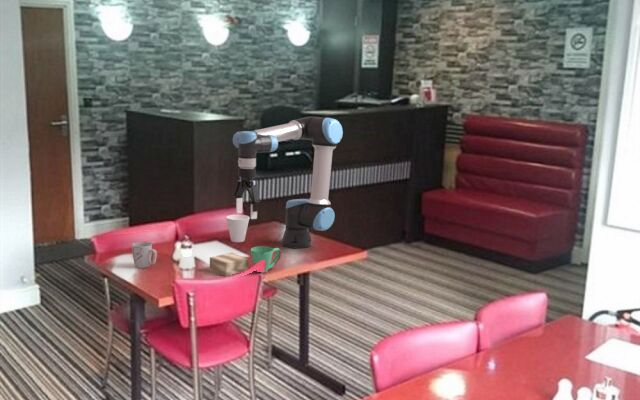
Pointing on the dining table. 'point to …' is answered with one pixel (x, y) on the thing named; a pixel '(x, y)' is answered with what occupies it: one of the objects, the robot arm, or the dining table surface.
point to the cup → (237, 227)
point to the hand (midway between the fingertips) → (246, 215)
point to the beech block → (228, 264)
